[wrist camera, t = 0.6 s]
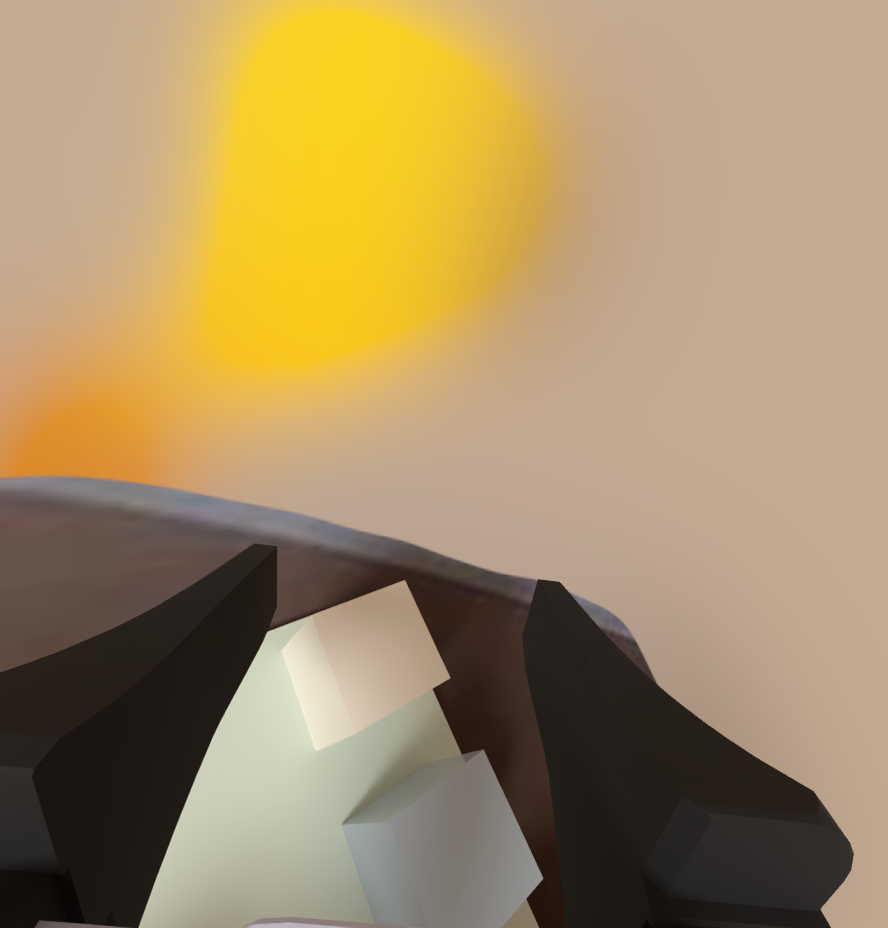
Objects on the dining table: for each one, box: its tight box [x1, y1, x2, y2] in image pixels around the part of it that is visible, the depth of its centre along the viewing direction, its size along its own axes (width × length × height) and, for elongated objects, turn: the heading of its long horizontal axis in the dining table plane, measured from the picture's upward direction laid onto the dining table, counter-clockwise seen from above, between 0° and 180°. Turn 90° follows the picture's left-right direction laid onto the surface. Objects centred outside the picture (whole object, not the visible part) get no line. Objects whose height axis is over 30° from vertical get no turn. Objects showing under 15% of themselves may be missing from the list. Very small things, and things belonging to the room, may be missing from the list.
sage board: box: [139, 616, 539, 928], centre depth 22 cm, size 26×17×1 cm, turn 31°
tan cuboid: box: [282, 580, 450, 751], centre depth 25 cm, size 6×6×6 cm
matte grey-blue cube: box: [341, 749, 543, 928], centre depth 22 cm, size 6×6×6 cm
